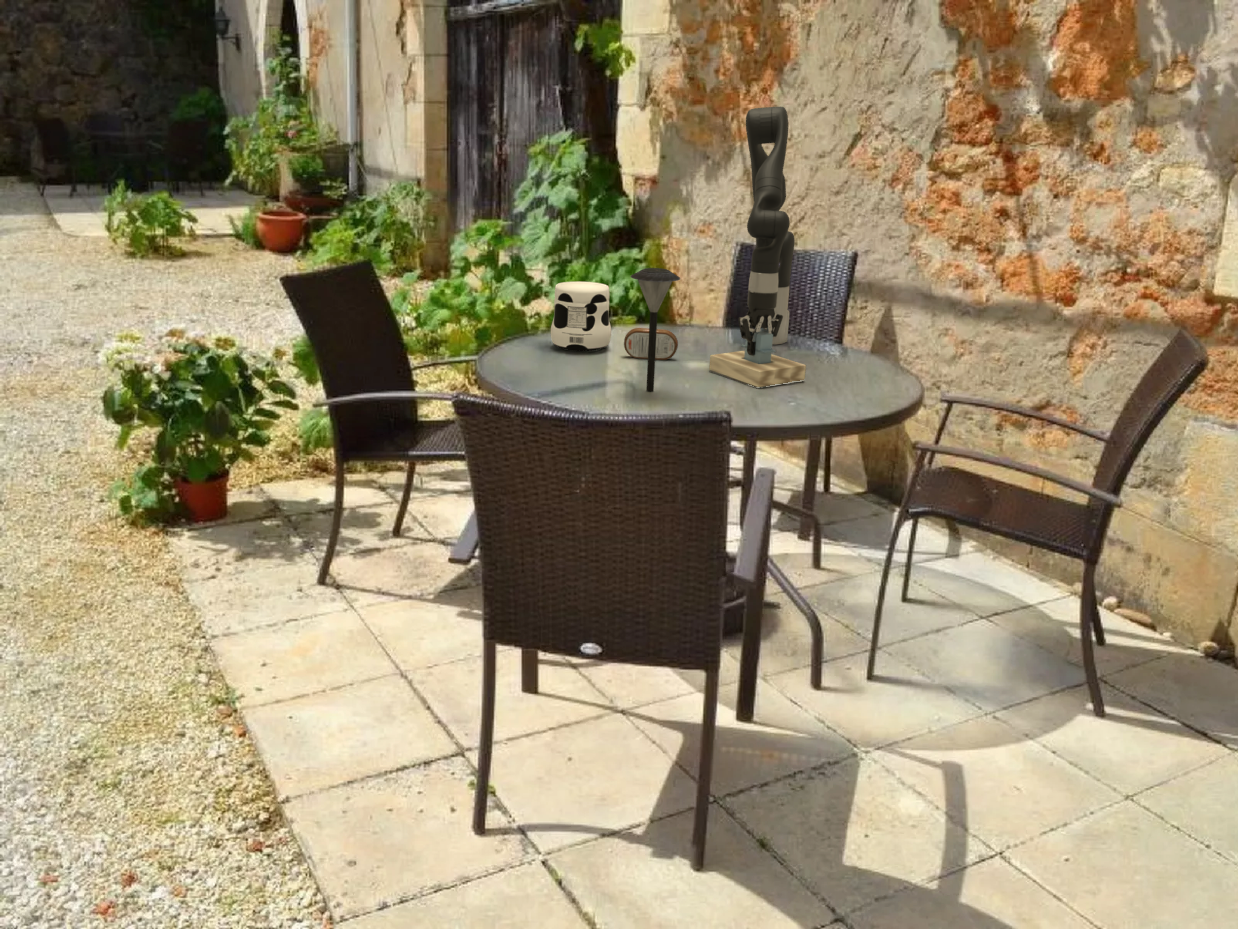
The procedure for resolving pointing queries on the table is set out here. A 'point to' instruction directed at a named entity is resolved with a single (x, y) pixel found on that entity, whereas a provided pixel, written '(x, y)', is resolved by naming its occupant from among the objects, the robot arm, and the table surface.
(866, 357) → the table surface
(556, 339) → the milk container
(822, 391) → the table surface
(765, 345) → the grey-blue stepped block
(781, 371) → the block
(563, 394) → the table surface
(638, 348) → the tin
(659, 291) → the solar garden light
